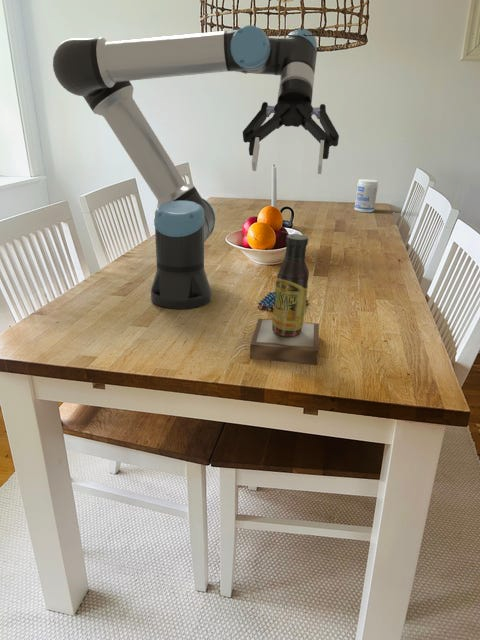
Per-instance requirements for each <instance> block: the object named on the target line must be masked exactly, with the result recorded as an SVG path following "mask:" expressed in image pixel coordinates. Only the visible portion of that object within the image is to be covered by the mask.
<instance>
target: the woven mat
mask: <svg viewBox="0 0 480 640" xmlns="http://www.w3.org/2000/svg"><path fill="white" fill-rule="evenodd" d="M274 298H275V291H272V292H271V291H270V292H268V294H266V296H264V297H263V298H262V300H260V302H257V304H258V306H257V308H258V310H263V309H264V311H268V312H271V311H273V308H274ZM309 301H310V300H308V297H306V305H305V307H306V306H307V304H308V303H309Z"/></svg>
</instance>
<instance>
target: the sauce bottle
mask: <svg viewBox="0 0 480 640" xmlns="http://www.w3.org/2000/svg"><path fill="white" fill-rule="evenodd" d="M285 239H286V240H285V243H286V244H285V245H286V248H285V255H284V260H283V262H282V264H281V266H280V267H279V269H278V273H277V276H276V280H275V281H276V282H275V291H274V292H275V298H274V308H273V309H272V326H273V327H272V330H273V331H274V333H276V334H278V335H280V336H286V337H293V336H297V335H299V334H300V333H301V329H302V327H303V322H304V319H305V311H306V306H307V304H306V297H307V295H308V287H309V286H308V284H309V277H310V276H309V275H310V271H309V268H308V266H307V264H306V250H307V246H308V242H309V238H308V236H307V235H303V234H299V233H298V234H297V233H296V234H295V233H292V234H291V233H290V234H288V235H286V238H285ZM307 298H308V297H307ZM305 305H306V306H305Z"/></svg>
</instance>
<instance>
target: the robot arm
mask: <svg viewBox="0 0 480 640" xmlns="http://www.w3.org/2000/svg"><path fill="white" fill-rule="evenodd" d="M301 29H303V30H301ZM303 34H305V35H312V34H313V33H312V32H311V31H309V30H308V29H305V28H298V30H297V29H295V30H292V31H291V32H289V33H288V35H297V36H288V35H287V36H286V38H283V37H282V38H280V37H279V38H277V37H276V38H275V37H268V36H267V33H266V32H265V31H264V30H262V28H260V27H258V26H256V25H244V26H242V27H239V28H238V29H228V30H219V31H209V32H208V31H207V32H197V33H189V34H181V35H180V34H179V35H178V34H177V35H170V36H159V37H150V38H141V39H140V38H139V39H129V40H121V41H120V40H118V41H108V40H107V39H106V38H105V37H93V38H87V37H86V38H80V37H77V38H74V37H73V38H68V39H66V40H64V41H62V42H61V43H60V44H59V45H58V46H57V48H56V50H55V51H54V53H53V54H54V55H53V57H52V69H53V73H54V75H55V78H56V80H57V81H58V83H59V84H60V85H61V86H62V88H63V89H64V90H66V91H67V92H68V93H70V94H73V95H75V96H78V97H79V96H80V97H83V98H84V101H85V102H86V103H87V105H88V107H89V108H90V109H91V111H92V112H93V114H94V115H98V116H102V117H103V118H104V120H105V121H106V122H107V124H108V126H109V127H110V129H111V130H112V132H113V134H114V135H115V136H116V138H117V140H118V141H119V143H120V144H121V146H122V147H123V149H124V150H125V152H126V154H127V155H128V157H129V159H130V160H131V162H132V163H133V164H134V166H135V167H136V169H137V171H138V172H139V173H140V176H142V178H143V180H144V182H145V183H146V184H147V186H148V188H149V189H150V191H151V193H152V194H153V195H154V197H155V198H156V200H157V207H156V209H155V211H154V221H153V223H154V233H155V249H156V250H155V254H156V255H155V256H156V271H155V274H154V277H153V281H152V284H151V288H150V300H151V302H152V303H153V304H155V305H156V306H160V307H162V308H167V309H173V310H174V309H175V310H178V309H179V310H183V309H184V310H185V309H193V308H197V307H201V306H204V305H207V304H208V303H210V301H211V300H212V289H211V286H210V283H209V279H208V277H207V274H206V271H205V242H206V241H207V239H208V238H209V237H211V235H212V234H213V231H214V230H215V224H216V214H215V210H214V208H213V207H212V205H211V203H210V202H208V201H207V200H206V199H205V198H203V197H202V196H201V194H200V193H199V191H198V190H197V188H196V186H195V185H193V184H190V183H187V182H186V181H185V180H184V178H183V176H182V175H181V173H180V171H179V170H178V169H177V166H176V165H175V163H174V162H173V160H172V159H171V157H170V155H169V154H168V152H167V151H166V149H165V148H164V146H163V144H162V143H161V141H160V140H159V138H158V136H157V135H156V133H155V132H154V129H152V127H151V124H150V123H149V122H148V120H147V119H146V117H145V116H144V114H143V113H142V111H141V109H140V107H139V106H138V104H137V103H136V101H135V99H134V98H133V94H134V86H133V84H132V83H131V81H132V82H133V81H140V80H151V79H153V80H154V79H160V78H161V79H162V78H172V77H184V76H193V75H194V76H195V75H204V74H205V75H206V74H214V73H217V74H218V73H227V72H237V73H241V74H245V75H247V74H255V75H256V74H257V75H273V76H280V77H279V78H280V80H279V85H278V86H279V87H278V93H277V94H278V95H277V100H276V104H275V105H269V104H268V102H266V101H263V102H262V104H261V106H260V107H261V108H260V110H259V111H257V113H256V115H255V116H254V117H253V118H252V119H251V121H250V122H249V123H248V124H247V126H246V127H245V128H244V130H243V131H242V140H243V142H244V143H246V144H247V143H249V145H248V154H249V156H251V157H252V158H251V169H252V172H256V171H257V167H258V162H259V161H258V159H259V154H260V153H259V152H260V147H261V145H260V142H262V140H264V139H265V138H267V136H269V135H270V134H271V133H273V132H274V131H275V130H276V129H277V130H278V129H280V128H281V127H282V126H284V127H295V128H300V126H301V127H303V129H304V130H305V131H308V132H309V134H311V136H313V137H314V139H315V140H316V141H317V142H318V143H319V155H318V166H317V174H318V175H322V171H323V162H324V161H323V160H328V159H329V155H330V154H329V153H330V147H332V146H333V147H337V146H338V145H339V139H340V135H339V133H338V132H337V129H336V128H335V125H334V123H332V119H331V118H330V117H329V115H328V113H327V110H326V109H327V108H326V107H327V106H326V105H325V103H321V104H320V105H319V106H317V107H313V106H312V101H313V91H314V82H315V72H316V64H317V57H318V56H317V55H318V51H317V50H318V49H317V48H318V47H317V46H318V45H317V39H316V37H315V35H314V36H304V35H303ZM271 114H273V115H272V117H271V118H270V116H271ZM313 115H314V116H315V117H316V119H317V120H318V121H319V123H320V125H321V126H320V125H319V124H318V123H317V122H316V121H315V120H314V119H313V117H312V116H313ZM267 118H269V119H268V120H267ZM266 120H267V121H266ZM265 121H266V122H265Z"/></svg>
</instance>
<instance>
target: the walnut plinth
mask: <svg viewBox="0 0 480 640" xmlns="http://www.w3.org/2000/svg"><path fill="white" fill-rule="evenodd" d="M256 322H257V323H256V326H255V328H254V331H253V335H252V339H251V342H250V347H249V359H255V360H265V361H266V360H267V361H275V362H287V363H295V364H296V363H298V364H305V365H306V364H307V365H315V366H316V365H318V360H319V359H318V358H319V357H318V356H319V337H320V335H319V334H320V333H319V332H320V331H319V329H320V323H316V322H315V323H314V322H304V321H303V327H302V329H301V333H300V334H299V335H297V336H293V337H286V336H280V335H278V334H276V333H274V331H273V330H272V327H273V326H272V319H270V318H269V319H268V318H258V319H257V321H256Z"/></svg>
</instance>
